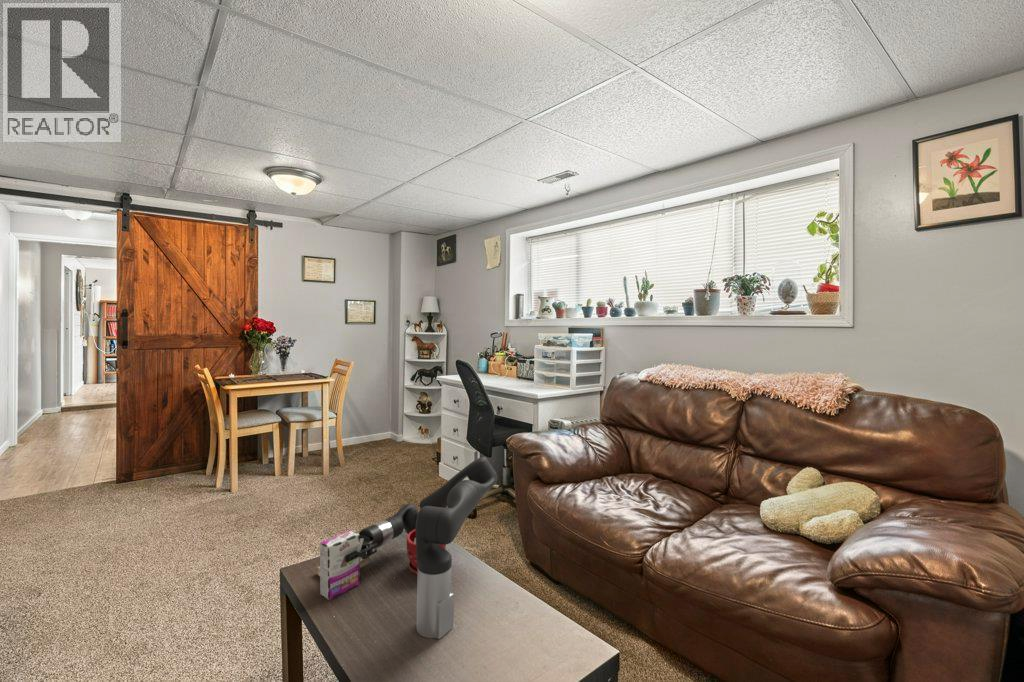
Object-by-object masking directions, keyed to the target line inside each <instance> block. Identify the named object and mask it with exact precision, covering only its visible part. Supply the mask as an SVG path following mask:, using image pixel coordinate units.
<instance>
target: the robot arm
mask: <svg viewBox="0 0 1024 682" xmlns="http://www.w3.org/2000/svg"><path fill="white" fill-rule="evenodd" d="M498 477H499V476H498V474H497V471H496V470H495V469H494V467H493V465H492V464H491V462H490V461H489V460H488V459H487V457H485V456H481V457H478V458H476V459H475V460H473V461H471V462H470V463H469V464H468V465H466V466H465V467H464V468H463V469H461V470H460V471H459V472H457V473H456V474H455V475H454V476H452V477H451V478H450V479H449V480H447V481H446V482H445V483H444V484H443V485H442V486H440V487H439V488H438V489H436V490H434V491H433V492H431V493H430V494H428V495H427V496H425V497H424V498H422V499H421V500H420V502H419V509H420V510H418V508H417V506H416V505H415V504H414V503H410V502H409V503H406V504H404V505H402V506H401V508H400V509H398V510H397V512H395V513H394V514H393V515H391V516H390V517H388V518H386V519H383V520H381V521H378V522H375V523H372V524H371V525H369V526H367V527H365V528H363V529H361V530H360V531H359V533H358V534H359V544H358V547H357V549H356V551H353V552H351V553H349V554H347V555H345V562H347V563H348V562H350V561H352V560H353V559H356V558H357V559H358V558H360V557H362V559H366V558H367V557H369V558H370V557H371V556H372V555H374V554H376V553H377V552H378V548H380V547H382V546H384V545H386V544H388V543H389V542H390V541H392V540H393V539H395V538H397V537H400V536H401V535H402V534H403V532H405V533H406V535H408V534H409V533H410V532H411V531H413V530H415V529H416V538H415V543H416V558H417V563H418V565H417V574H416V575H417V576H416V579H417V580H416V632H417V633H418V635H420V636H421V637H423V638H427V639H437V640H440V639H442V638H443V637H444V636H445V635H446V634H447V633H448V632H450V631H451V630H452V629H453V628H454V617H455V614H454V613H455V611H454V610H455V606H454V605H455V594H454V593H453V592H452V566H453V565H452V562H453V561H452V560H453V559H452V554H451V553H450V552H449V551H448V550H447V549H444V548H442V547H440V546H439V545H438V544H446V545H450V544H451V543H452V542H453V541H454V540H455V539H456V537H457V536H458V535H459V532H460V530H461V528H462V527H463V524H464V523H465V521H466V520H467V518H468V517H469V515H470V514H471V513H472V512H473V511H474V509H476V507H477V506H478V504H479V503H480V501H481V500H482V499H483V497H484V496H486V494H487V493H488V492H489V491H490V490H492V488H493V487H494V486H495V485H496V483H497V482H498V480H499V479H498ZM466 478H468V479H466Z"/></svg>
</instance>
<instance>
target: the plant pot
mask: <svg viewBox="0 0 1024 682" xmlns="http://www.w3.org/2000/svg"><path fill="white" fill-rule="evenodd" d="M415 540H416V529H415V530H413V531H411V532H410V533H409V534H407V536H406V551H407V557H408V560H409V563H408V568H409V570H410V571H411V572H412V573H413V574H415V575H417V565H418V563H417V558H416V542H415ZM438 545H439V546H440V547H442V548H444V549H445V550H447V547H446V546H447V544H438Z"/></svg>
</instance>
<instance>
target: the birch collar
mask: <svg viewBox="0 0 1024 682" xmlns="http://www.w3.org/2000/svg"><path fill="white" fill-rule="evenodd" d="M359 559H360V569H361V568H363V567H365V566H367V565H369V564H370V556H369V557H367V558H366V559H362V557H360V558H359ZM316 575H317V576H318V577H320V565H318V566H317V567H316Z"/></svg>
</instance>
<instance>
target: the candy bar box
mask: <svg viewBox="0 0 1024 682" xmlns="http://www.w3.org/2000/svg"><path fill="white" fill-rule="evenodd" d="M358 544H359V533H358V532H355V531H354V530H352V529H351V530H349V531H346V532H343V533H341V534H337V535H336V536H334V537H331V538H328V539H326V540H323V541H322V542H320V543H319V566H320V576H319V582H320V583H319V585H320V586H319V589H320V590H319V591H320V596H321V595H322V597H323V596H324V597H323V598H325V599H326V600H328V601H330V600H332V599H334V598H337V597H339V596H340V595H342V594H344V593H346V592H347V591H349V590H352V589H353V588H355V587H357V586H359V585H361V584H360V583H361V582H360V580H361V578H360V575H361V574H360V573H361V572H360V570H361V568H360V559H359V558H358V559H357V558H356V559H353V560H352V561H350V562H348V563H347V562H345V555H347V554H349V553H351V552H353V551H356V549H357V547H358Z"/></svg>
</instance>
